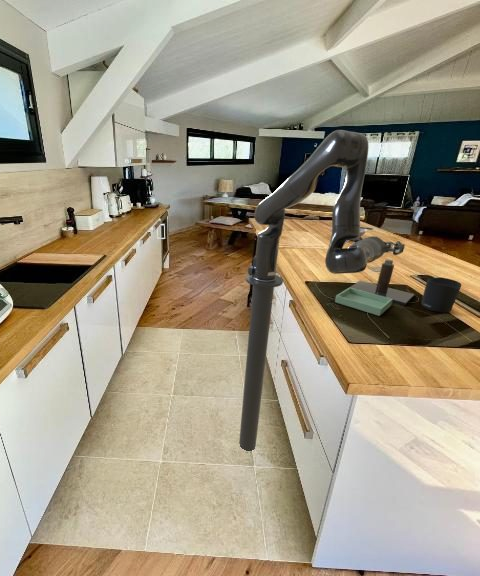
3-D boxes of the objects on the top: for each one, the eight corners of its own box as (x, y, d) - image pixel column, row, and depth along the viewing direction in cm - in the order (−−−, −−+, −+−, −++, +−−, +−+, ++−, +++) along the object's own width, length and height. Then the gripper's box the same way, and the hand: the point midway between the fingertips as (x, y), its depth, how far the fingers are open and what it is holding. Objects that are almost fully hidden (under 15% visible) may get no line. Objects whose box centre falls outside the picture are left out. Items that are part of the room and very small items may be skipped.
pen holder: (416, 300, 117) (424, 275, 113) (447, 304, 114) (456, 279, 110) (423, 310, 109) (431, 284, 105) (456, 315, 106) (466, 288, 102)
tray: (334, 302, 115) (336, 295, 114) (348, 293, 123) (349, 287, 122) (379, 316, 105) (381, 309, 104) (391, 305, 113) (392, 299, 112)
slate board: (348, 289, 126) (349, 287, 126) (359, 282, 134) (360, 280, 134) (405, 305, 113) (405, 302, 113) (413, 296, 121) (414, 294, 120)
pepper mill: (374, 290, 123) (381, 260, 118) (377, 288, 126) (385, 258, 121) (385, 293, 120) (393, 262, 116) (388, 291, 123) (396, 260, 118)
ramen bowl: (320, 238, 212) (322, 226, 209) (335, 233, 226) (337, 222, 223) (358, 245, 195) (361, 232, 192) (372, 239, 210) (375, 227, 206)
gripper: (396, 242, 92) (411, 234, 102) (346, 234, 101) (365, 228, 111) (389, 267, 94) (405, 256, 105) (342, 256, 104) (360, 248, 114)
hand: (384, 242), depth 108 cm, fingers open, 8 cm apart
